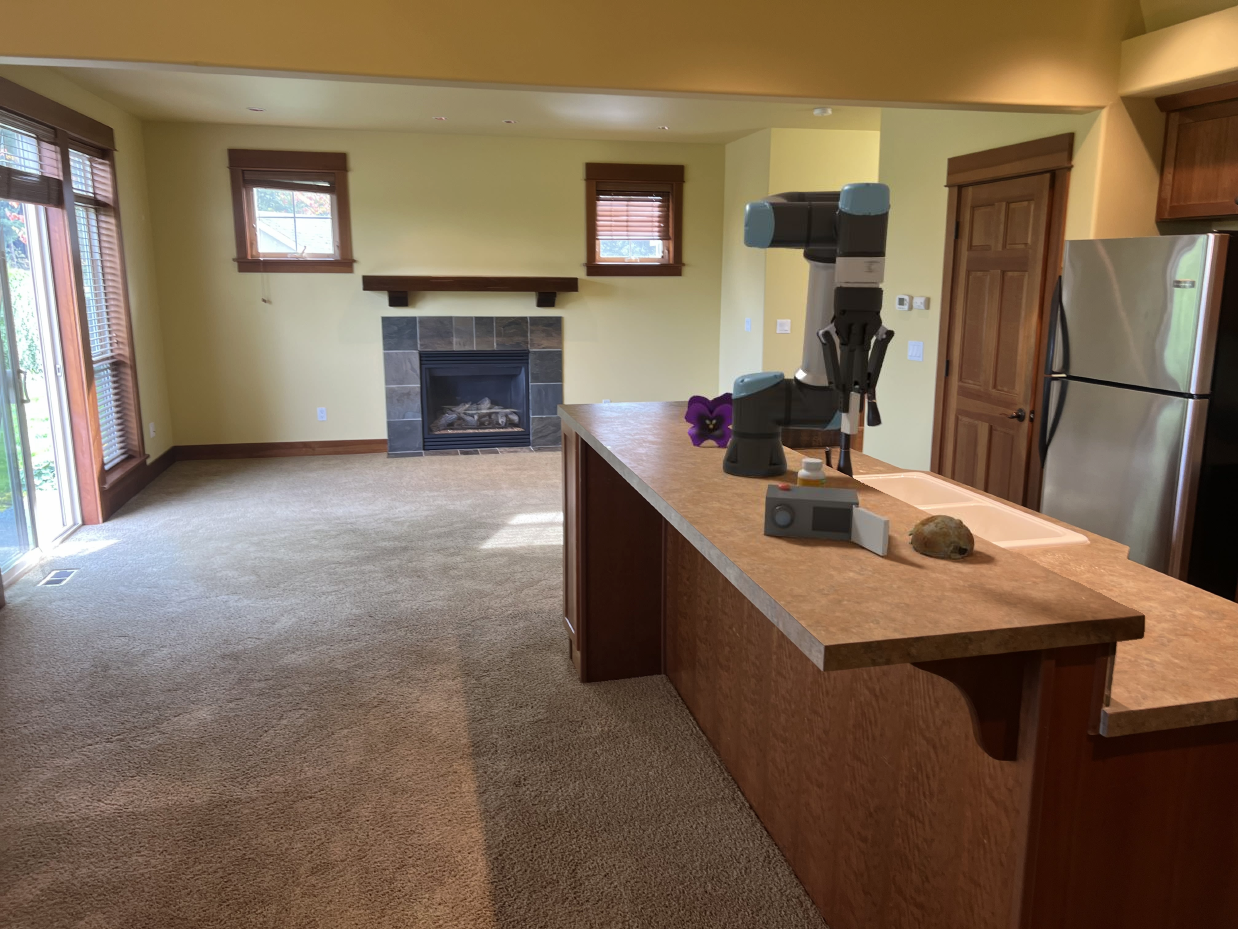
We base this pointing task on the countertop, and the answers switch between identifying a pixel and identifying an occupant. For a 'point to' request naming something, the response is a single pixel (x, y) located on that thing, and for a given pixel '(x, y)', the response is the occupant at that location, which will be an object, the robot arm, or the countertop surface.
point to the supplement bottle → (811, 473)
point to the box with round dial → (809, 512)
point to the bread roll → (942, 537)
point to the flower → (710, 419)
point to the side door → (870, 530)
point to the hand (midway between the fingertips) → (849, 432)
